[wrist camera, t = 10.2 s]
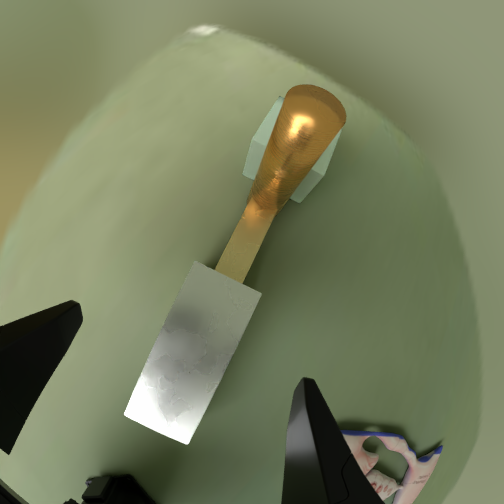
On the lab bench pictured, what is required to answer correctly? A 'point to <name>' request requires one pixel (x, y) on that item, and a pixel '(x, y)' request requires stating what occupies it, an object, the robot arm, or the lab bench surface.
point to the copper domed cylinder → (282, 169)
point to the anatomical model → (384, 484)
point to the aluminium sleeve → (192, 352)
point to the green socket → (260, 145)
